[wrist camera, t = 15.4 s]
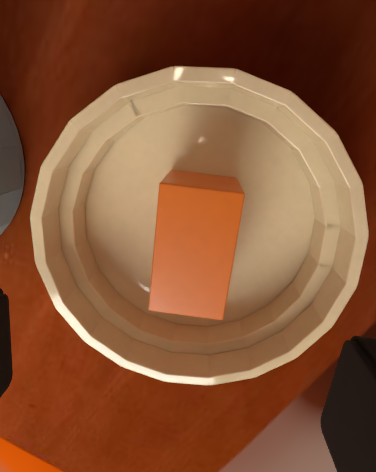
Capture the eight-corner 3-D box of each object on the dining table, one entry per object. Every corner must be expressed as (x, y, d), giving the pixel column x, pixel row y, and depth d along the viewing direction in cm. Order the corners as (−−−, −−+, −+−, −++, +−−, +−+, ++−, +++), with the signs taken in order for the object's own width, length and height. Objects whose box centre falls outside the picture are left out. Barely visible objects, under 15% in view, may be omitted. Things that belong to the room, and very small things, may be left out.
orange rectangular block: (170, 169, 19) (159, 182, 14) (237, 177, 19) (245, 193, 14) (160, 272, 21) (147, 311, 17) (220, 280, 21) (223, 321, 16)
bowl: (245, 12, 17) (256, -27, 12) (378, 263, 20) (422, 299, 16) (15, 185, 20) (-37, 201, 16) (164, 371, 24) (154, 424, 20)
